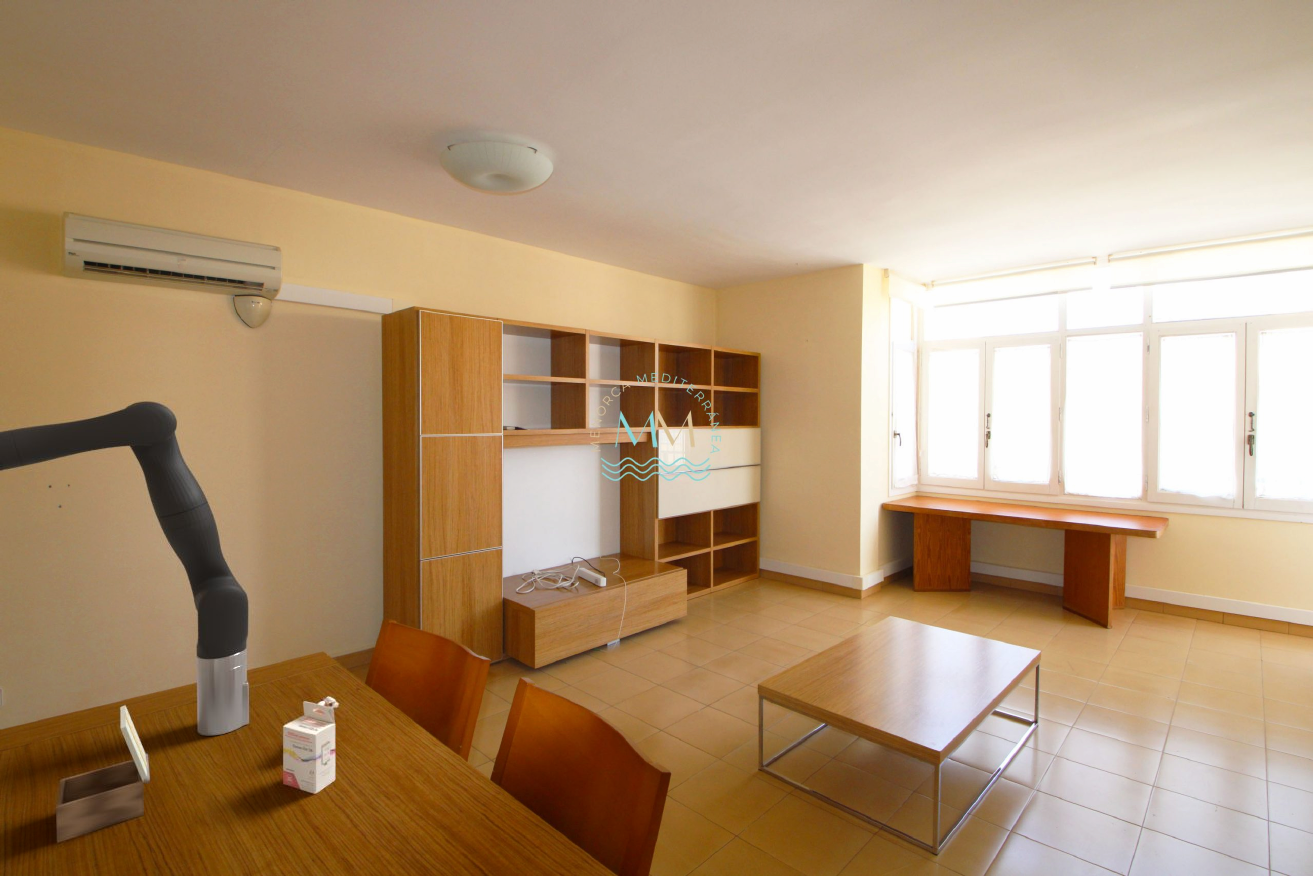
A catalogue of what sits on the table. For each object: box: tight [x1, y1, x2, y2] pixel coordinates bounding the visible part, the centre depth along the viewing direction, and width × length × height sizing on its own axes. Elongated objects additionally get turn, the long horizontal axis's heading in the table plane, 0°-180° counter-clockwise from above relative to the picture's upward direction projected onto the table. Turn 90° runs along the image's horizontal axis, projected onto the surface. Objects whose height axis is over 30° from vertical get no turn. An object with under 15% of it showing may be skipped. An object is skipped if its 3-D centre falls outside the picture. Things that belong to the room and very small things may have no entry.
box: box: [55, 759, 145, 844], centre depth 108 cm, size 11×10×6 cm
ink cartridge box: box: [282, 700, 336, 795], centre depth 118 cm, size 9×5×15 cm, turn 71°
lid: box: [119, 704, 151, 784], centre depth 111 cm, size 12×10×1 cm
